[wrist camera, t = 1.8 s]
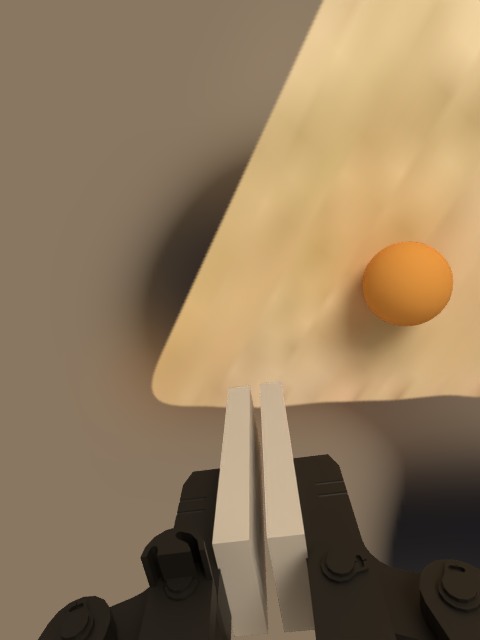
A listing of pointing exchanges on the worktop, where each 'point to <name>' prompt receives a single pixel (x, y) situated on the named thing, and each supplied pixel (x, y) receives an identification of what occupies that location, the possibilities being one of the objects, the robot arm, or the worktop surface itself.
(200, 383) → the worktop surface
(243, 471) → the robot arm
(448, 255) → the worktop surface
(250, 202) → the worktop surface
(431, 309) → the ball
